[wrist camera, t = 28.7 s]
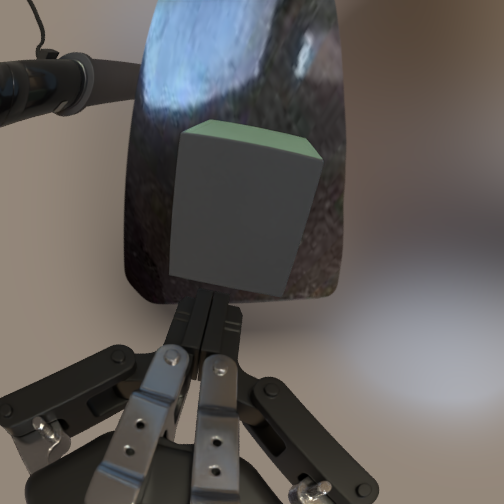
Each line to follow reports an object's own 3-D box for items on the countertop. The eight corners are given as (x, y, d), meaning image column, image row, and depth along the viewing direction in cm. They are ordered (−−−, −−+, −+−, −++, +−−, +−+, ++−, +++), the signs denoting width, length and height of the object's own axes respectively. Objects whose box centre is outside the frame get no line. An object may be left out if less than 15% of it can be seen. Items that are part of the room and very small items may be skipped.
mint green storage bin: (280, 234, 45) (283, 287, 34) (195, 218, 45) (171, 265, 33) (306, 138, 37) (323, 159, 26) (209, 119, 36) (182, 131, 25)
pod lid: (281, 293, 34) (282, 297, 34) (170, 271, 34) (168, 275, 33) (323, 159, 26) (324, 161, 25) (182, 131, 25) (180, 132, 24)
